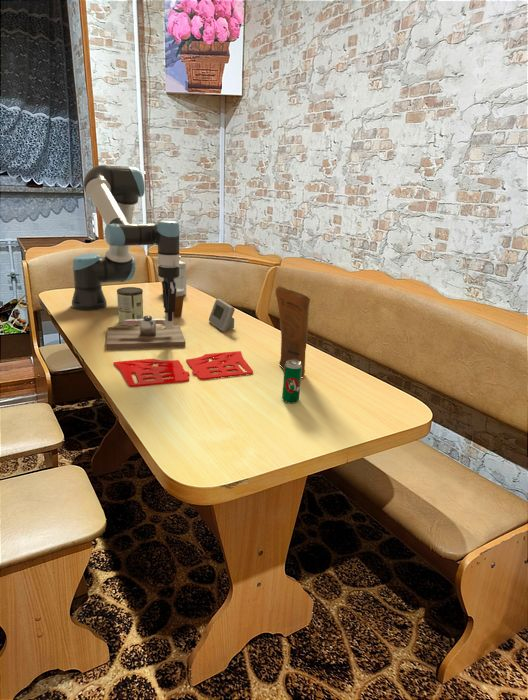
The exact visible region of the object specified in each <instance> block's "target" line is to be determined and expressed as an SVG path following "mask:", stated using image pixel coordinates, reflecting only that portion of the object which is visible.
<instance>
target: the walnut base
mask: <svg viewBox="0 0 528 700" xmlns="http://www.w3.org/2000/svg"><path fill="white" fill-rule="evenodd" d="M106 333H107V334H106V346H105V347H106V350H129V349H131V350H133V349H155V348H156V349H157V348H161V347H163V348H185V347H186V339H185V337H184V334H183V331H182V328H181V325H176V324H175V325H173V329H166V328H165V325H156V334H155V335H152V336H143V335H141V334H140V325H137V326H108V327H107V332H106Z"/></svg>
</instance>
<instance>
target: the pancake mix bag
mask: <svg viewBox="0 0 528 700" xmlns="http://www.w3.org/2000/svg"><path fill="white" fill-rule="evenodd" d="M275 298H276V302H277V306H278V307H277V309H278V316H279V326H280V336H281V337H280V338H281V341H280V342H281V344H280V358H279V359H280V360H279V364H280V365H281V366H282V367H283V368H284V366H285V364H286V361H288V360H297V361H300V362H301V365H302V373H301V377H304V378H305V375H304V374H306V368H305V367H306V350H307V344H308V343H307V342H308V329H309V315H310V304H311V298H309V296H307V295H305V294H303V293H301V292H298V291H295V290H292V289H288V288H285V287H282V286H280V285H278V286H276V287H275ZM279 364H278V365H279ZM282 367H281V368H282ZM283 368H282V369H283Z"/></svg>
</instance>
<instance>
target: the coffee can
mask: <svg viewBox="0 0 528 700" xmlns="http://www.w3.org/2000/svg"><path fill="white" fill-rule="evenodd" d="M143 291H144V290H143V288H141V287H135V286H134V287H133V286H127V287H126V286H125V287H119V288H117V289H116V295H117V315H118V324H119V325H121V326H123V327H135V326H140V324H138V325H123V320H124V319H141V318H144V306H143V305H144V300H143V299H144V298H143Z"/></svg>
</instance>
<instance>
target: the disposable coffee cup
mask: <svg viewBox="0 0 528 700" xmlns="http://www.w3.org/2000/svg"><path fill="white" fill-rule="evenodd" d="M175 288H176V289H177V291H176V299H175V312H173V318H180V317H182V314H183V307H184V306H183V305H184V298H185V296H186V295H185V291H184V289H183V288H178V287H175Z"/></svg>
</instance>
